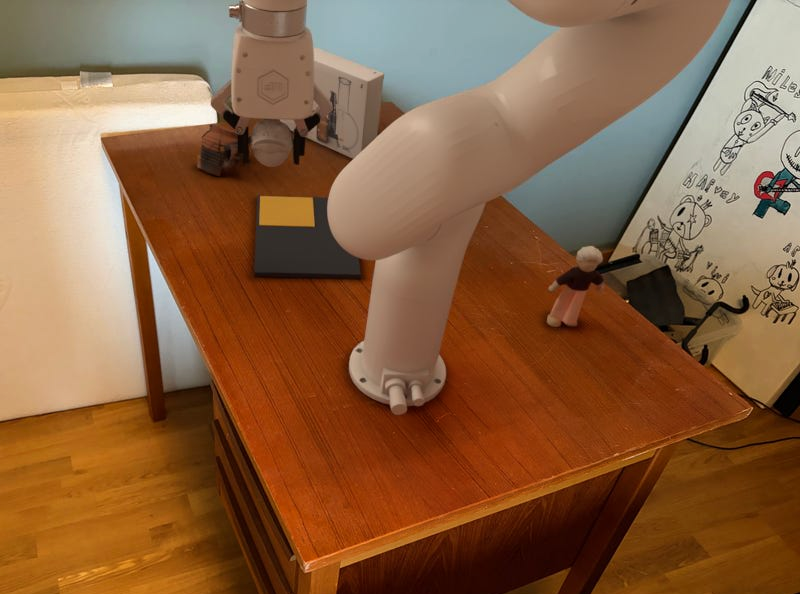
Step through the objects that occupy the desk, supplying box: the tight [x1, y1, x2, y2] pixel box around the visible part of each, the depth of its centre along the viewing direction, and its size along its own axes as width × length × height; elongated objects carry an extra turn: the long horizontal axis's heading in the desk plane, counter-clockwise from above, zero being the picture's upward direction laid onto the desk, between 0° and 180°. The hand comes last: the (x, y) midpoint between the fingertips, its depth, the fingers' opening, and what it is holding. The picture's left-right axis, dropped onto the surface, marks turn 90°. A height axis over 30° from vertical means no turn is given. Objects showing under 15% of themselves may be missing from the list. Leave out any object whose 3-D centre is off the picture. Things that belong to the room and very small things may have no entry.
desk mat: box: [253, 195, 362, 280], centre depth 111 cm, size 22×16×1 cm
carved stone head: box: [248, 119, 294, 168], centre depth 91 cm, size 6×7×7 cm
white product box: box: [279, 46, 385, 160], centre depth 131 cm, size 21×5×16 cm, turn 50°
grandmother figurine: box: [546, 245, 605, 328], centre depth 96 cm, size 8×4×13 cm, turn 105°
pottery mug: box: [196, 123, 251, 177], centre depth 125 cm, size 12×10×8 cm
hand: (271, 157), depth 93 cm, fingers closed on carved stone head, 6 cm apart
